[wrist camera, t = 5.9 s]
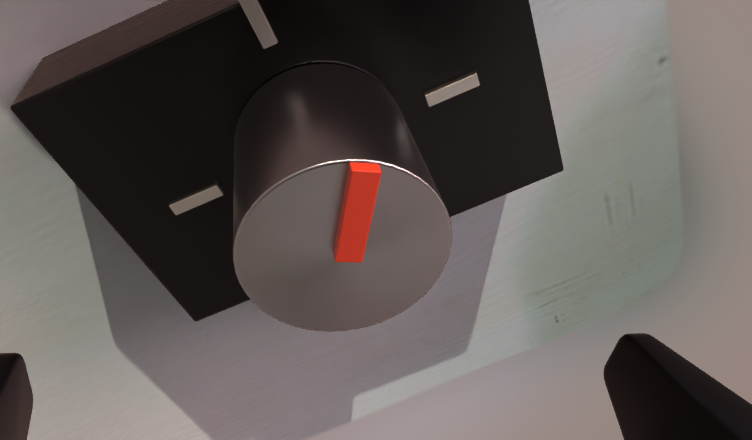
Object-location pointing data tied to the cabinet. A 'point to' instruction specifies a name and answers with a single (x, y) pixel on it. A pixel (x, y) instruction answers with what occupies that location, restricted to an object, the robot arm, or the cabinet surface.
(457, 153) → the panel
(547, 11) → the cabinet surface
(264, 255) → the knob
